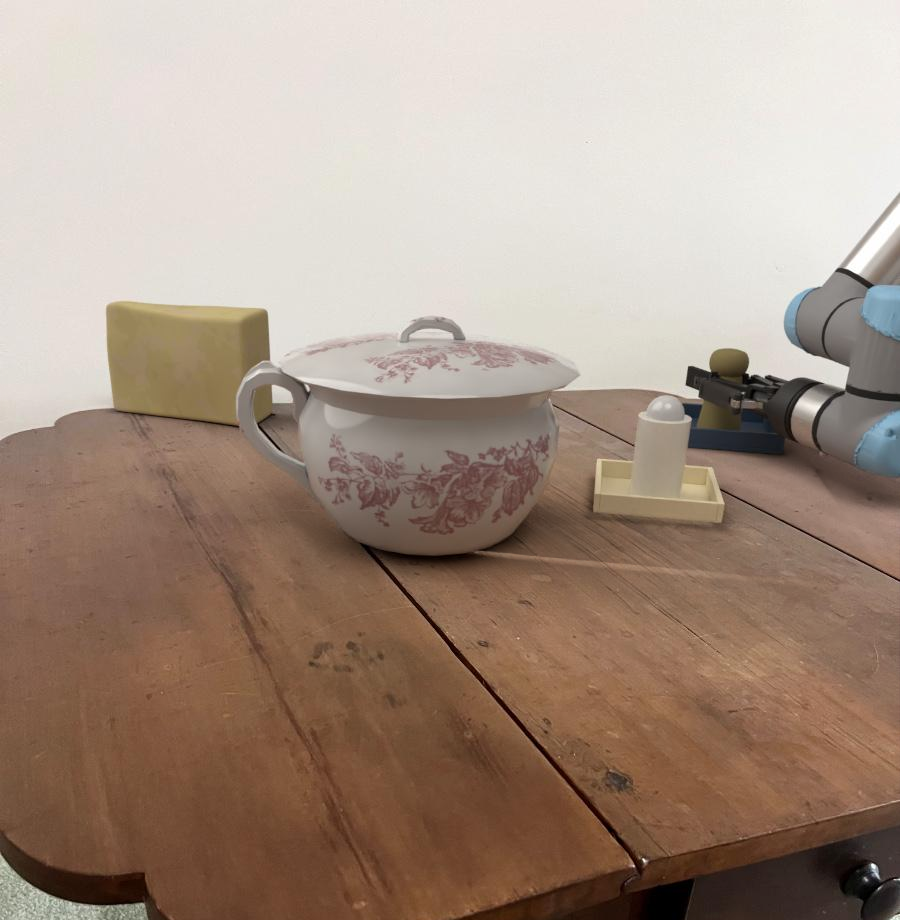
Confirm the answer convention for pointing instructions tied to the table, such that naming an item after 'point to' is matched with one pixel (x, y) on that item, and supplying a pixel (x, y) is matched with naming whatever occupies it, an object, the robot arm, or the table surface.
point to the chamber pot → (418, 433)
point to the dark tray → (735, 434)
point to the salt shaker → (660, 449)
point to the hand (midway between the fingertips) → (703, 375)
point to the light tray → (695, 502)
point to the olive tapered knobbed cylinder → (729, 368)
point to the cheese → (185, 359)
